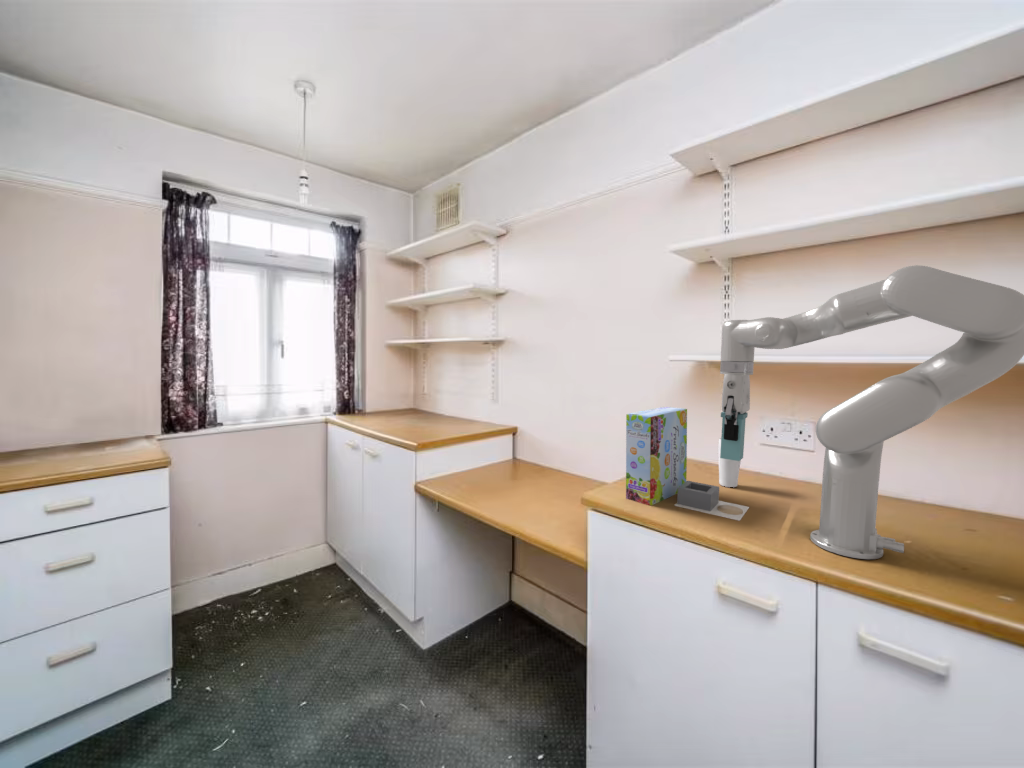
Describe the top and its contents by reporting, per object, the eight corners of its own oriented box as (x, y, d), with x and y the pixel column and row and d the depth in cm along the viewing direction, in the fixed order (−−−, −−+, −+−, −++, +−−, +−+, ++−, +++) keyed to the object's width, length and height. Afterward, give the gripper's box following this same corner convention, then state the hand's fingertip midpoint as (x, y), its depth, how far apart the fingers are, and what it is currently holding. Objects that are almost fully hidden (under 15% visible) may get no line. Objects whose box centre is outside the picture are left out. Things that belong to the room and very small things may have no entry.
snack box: (660, 485, 134) (663, 405, 132) (687, 492, 128) (690, 408, 126) (622, 501, 120) (625, 412, 118) (650, 510, 113) (653, 415, 111)
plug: (744, 457, 110) (747, 412, 109) (740, 461, 106) (743, 414, 105) (723, 454, 113) (725, 410, 112) (718, 458, 109) (721, 412, 108)
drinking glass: (741, 484, 136) (743, 438, 134) (738, 490, 130) (741, 442, 129) (718, 480, 139) (720, 436, 138) (714, 486, 134) (716, 439, 133)
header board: (749, 510, 113) (750, 490, 113) (739, 524, 104) (740, 502, 104) (687, 497, 123) (688, 479, 123) (673, 508, 114) (674, 489, 114)
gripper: (746, 370, 99) (742, 446, 100) (759, 368, 112) (755, 435, 114) (712, 369, 104) (708, 441, 105) (728, 367, 117) (725, 432, 118)
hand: (733, 437), depth 109 cm, fingers closed on plug, 4 cm apart
